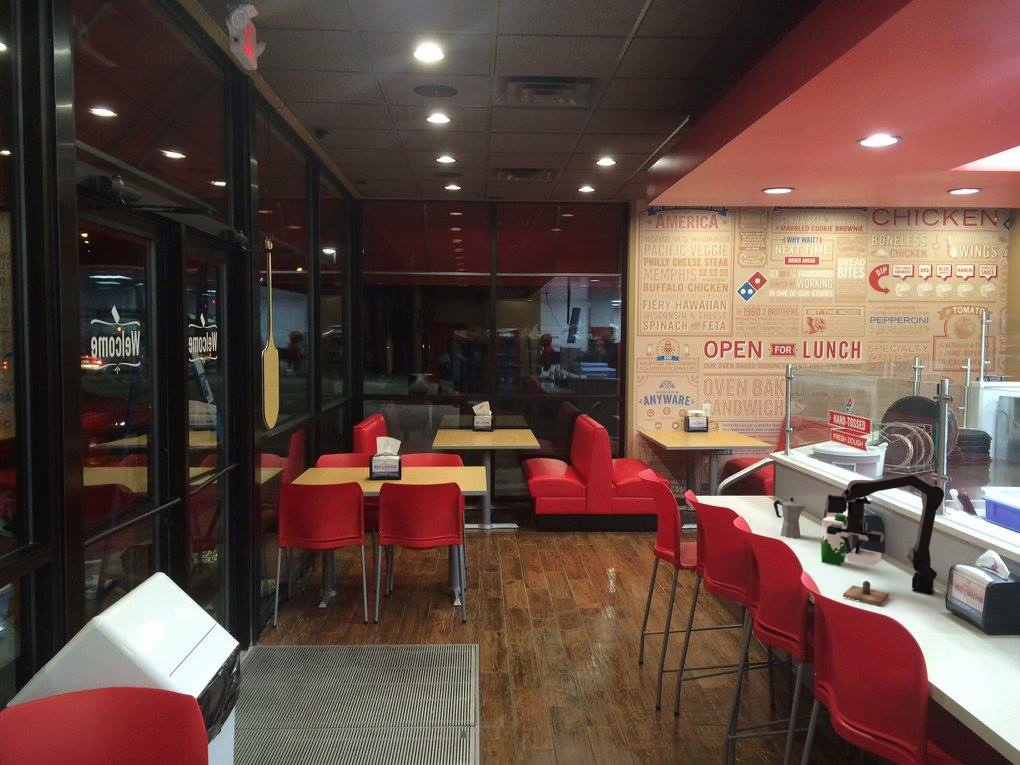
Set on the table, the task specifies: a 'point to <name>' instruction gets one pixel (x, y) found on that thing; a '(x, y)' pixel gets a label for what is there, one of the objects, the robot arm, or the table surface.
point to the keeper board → (866, 594)
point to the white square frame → (864, 557)
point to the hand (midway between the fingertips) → (853, 555)
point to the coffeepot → (790, 517)
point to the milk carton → (833, 541)
